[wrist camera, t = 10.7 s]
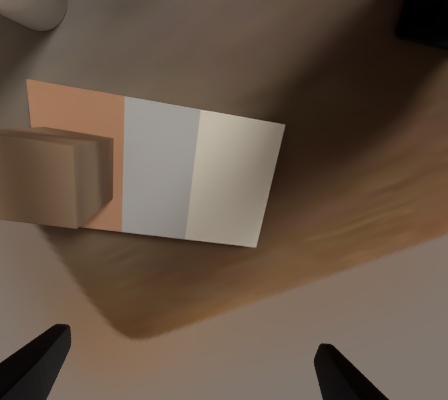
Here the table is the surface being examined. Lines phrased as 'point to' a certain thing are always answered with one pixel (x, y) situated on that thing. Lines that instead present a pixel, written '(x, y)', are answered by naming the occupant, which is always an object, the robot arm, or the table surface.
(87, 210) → the block
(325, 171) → the table surface
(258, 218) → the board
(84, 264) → the table surface
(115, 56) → the table surface
